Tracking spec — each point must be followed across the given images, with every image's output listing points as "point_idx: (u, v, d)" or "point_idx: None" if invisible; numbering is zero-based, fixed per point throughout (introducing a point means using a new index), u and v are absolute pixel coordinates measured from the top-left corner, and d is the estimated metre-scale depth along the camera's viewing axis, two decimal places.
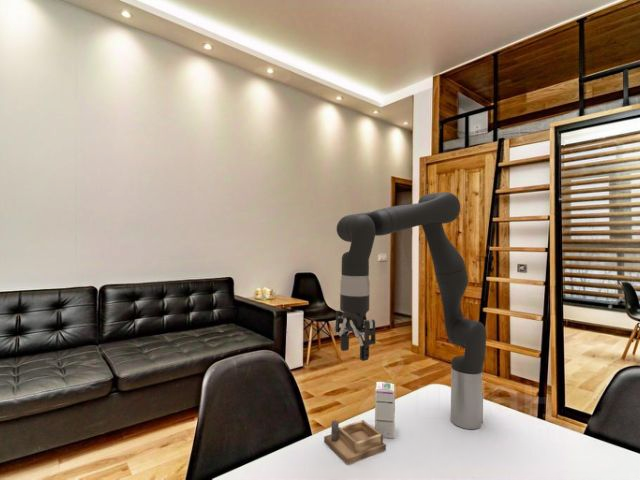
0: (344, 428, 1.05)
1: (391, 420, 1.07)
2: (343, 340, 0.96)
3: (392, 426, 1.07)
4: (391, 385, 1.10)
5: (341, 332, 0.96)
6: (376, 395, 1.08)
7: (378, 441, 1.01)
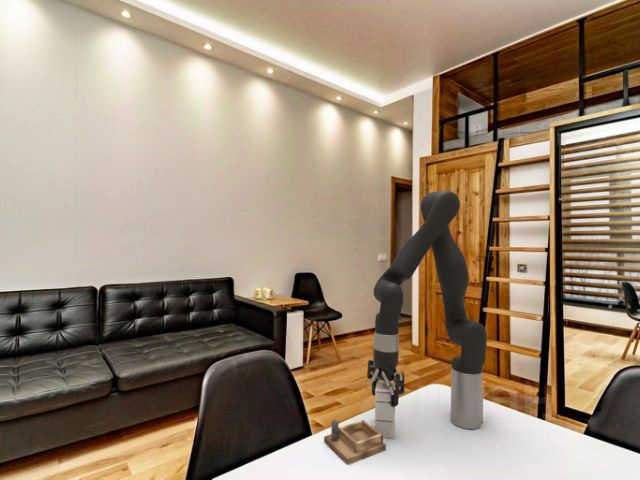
0: (344, 428, 1.05)
1: (391, 420, 1.07)
2: (374, 386, 1.13)
3: (392, 426, 1.07)
4: None
5: (373, 379, 1.13)
6: (376, 395, 1.08)
7: (378, 441, 1.01)
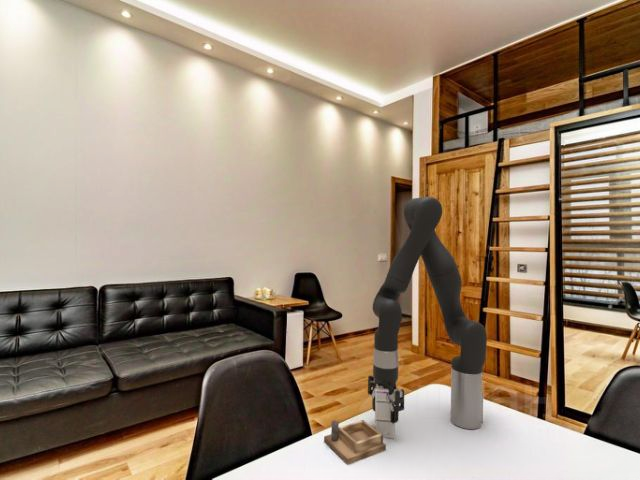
0: (344, 428, 1.05)
1: None
2: None
3: (392, 426, 1.07)
4: None
5: (373, 395, 1.13)
6: (376, 395, 1.08)
7: (378, 441, 1.01)
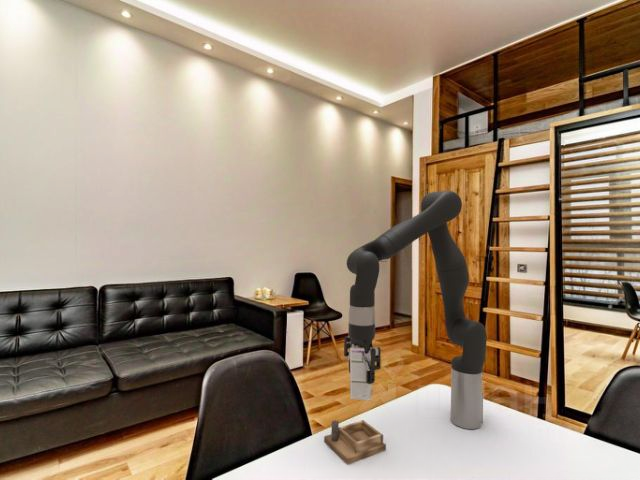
0: (344, 428, 1.05)
1: None
2: None
3: (368, 387, 1.00)
4: None
5: (349, 357, 1.06)
6: (351, 354, 1.01)
7: (378, 441, 1.01)
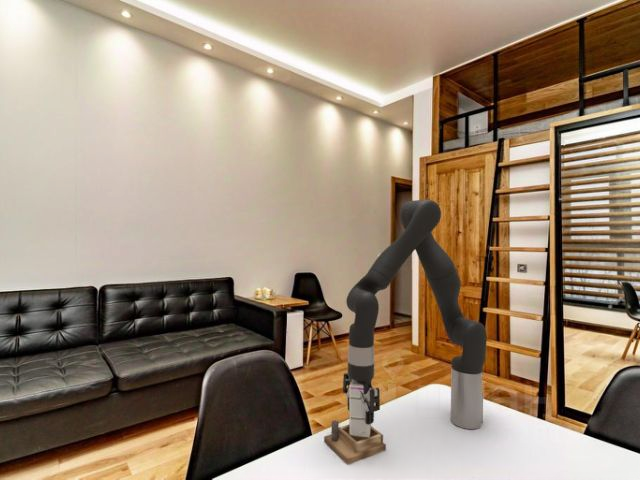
0: (344, 428, 1.05)
1: None
2: None
3: (367, 424, 1.00)
4: None
5: (348, 394, 1.06)
6: (350, 391, 1.01)
7: (378, 441, 1.01)
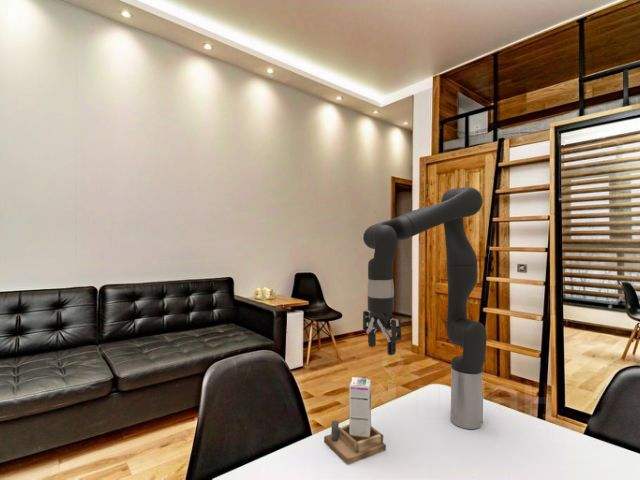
0: (344, 428, 1.05)
1: (366, 418, 1.00)
2: (370, 337, 1.08)
3: (367, 424, 1.00)
4: (367, 381, 1.03)
5: (368, 330, 1.07)
6: (350, 391, 1.01)
7: (378, 441, 1.01)
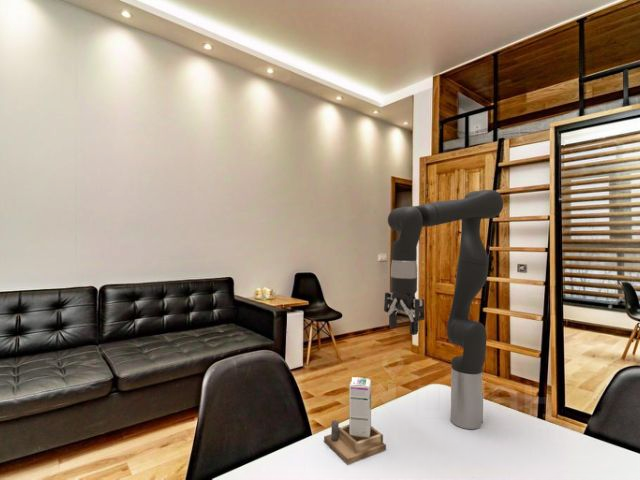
0: (344, 428, 1.05)
1: (366, 418, 1.00)
2: (392, 318, 1.09)
3: (367, 424, 1.00)
4: (367, 381, 1.03)
5: (390, 311, 1.09)
6: (350, 391, 1.01)
7: (378, 441, 1.01)
